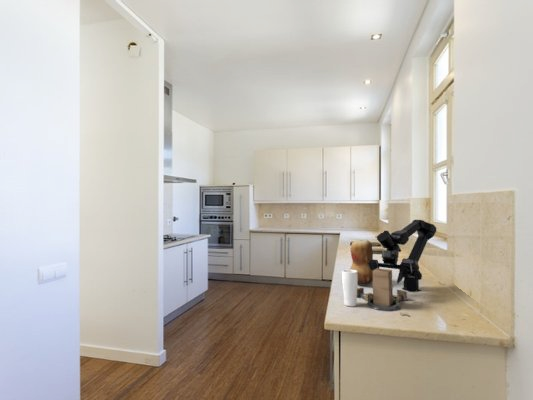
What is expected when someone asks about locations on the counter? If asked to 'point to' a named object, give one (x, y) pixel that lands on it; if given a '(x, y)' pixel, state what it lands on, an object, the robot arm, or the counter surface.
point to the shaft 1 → (363, 294)
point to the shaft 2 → (400, 296)
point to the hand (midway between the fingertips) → (386, 281)
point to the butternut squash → (362, 261)
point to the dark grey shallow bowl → (383, 308)
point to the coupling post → (382, 287)
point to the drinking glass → (350, 287)
